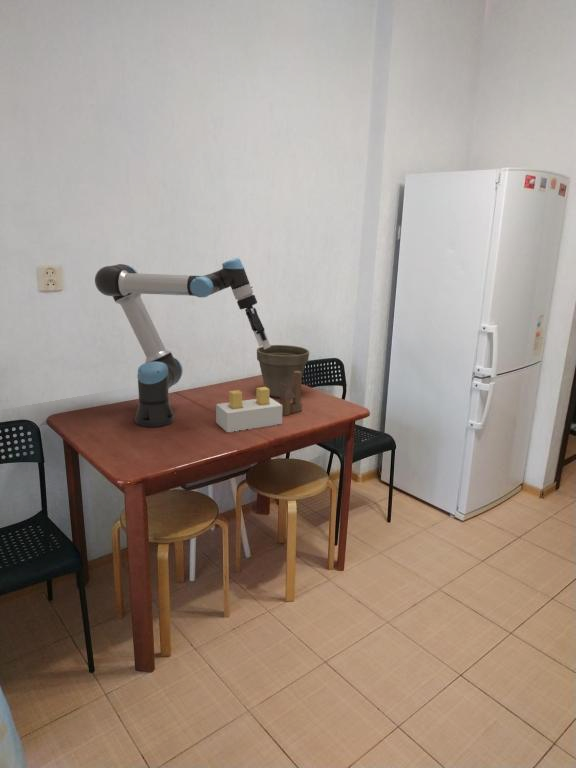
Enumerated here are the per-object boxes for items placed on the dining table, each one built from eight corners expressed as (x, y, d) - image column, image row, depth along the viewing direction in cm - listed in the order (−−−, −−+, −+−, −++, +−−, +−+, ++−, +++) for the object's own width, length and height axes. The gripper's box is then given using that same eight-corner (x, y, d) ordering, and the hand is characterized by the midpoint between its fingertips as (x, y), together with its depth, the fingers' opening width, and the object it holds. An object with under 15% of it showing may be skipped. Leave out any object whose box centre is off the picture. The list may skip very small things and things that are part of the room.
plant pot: (288, 383, 277) (289, 342, 271) (317, 396, 257) (319, 352, 251) (246, 390, 263) (247, 347, 257) (273, 404, 244) (275, 357, 238)
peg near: (233, 412, 212) (233, 394, 210) (229, 409, 215) (229, 391, 213) (242, 410, 214) (242, 392, 211) (238, 407, 217) (238, 390, 215)
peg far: (260, 408, 217) (260, 390, 215) (256, 405, 221) (256, 387, 218) (269, 406, 219) (269, 389, 217) (264, 404, 222) (265, 386, 220)
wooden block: (278, 414, 231) (279, 373, 226) (296, 409, 238) (297, 369, 233) (284, 416, 228) (285, 375, 223) (302, 411, 236) (303, 371, 231)
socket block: (227, 432, 208) (227, 413, 206) (216, 422, 218) (216, 404, 216) (281, 423, 219) (282, 405, 217) (268, 414, 230) (269, 397, 227)
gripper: (258, 293, 201) (278, 345, 205) (250, 294, 225) (268, 341, 229) (239, 300, 200) (260, 353, 204) (233, 300, 224) (252, 347, 229)
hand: (264, 346), depth 217 cm, fingers open, 13 cm apart
